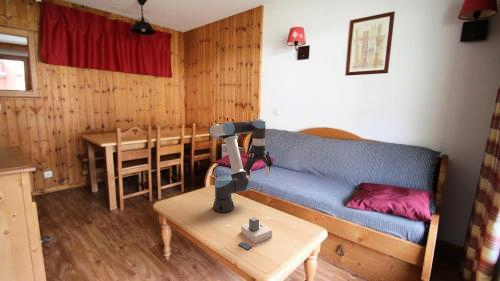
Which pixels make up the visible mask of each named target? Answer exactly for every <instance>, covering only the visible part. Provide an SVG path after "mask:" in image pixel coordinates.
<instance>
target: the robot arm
mask: <svg viewBox="0 0 500 281" xmlns="http://www.w3.org/2000/svg"><path fill="white" fill-rule="evenodd" d="M266 126H267V125H266V120H265V119H261V118H257V119H255V118H254V119H253V120H246V121H228V122H224V123H223V122H222V123H219V122H218V123H214V124H211V125H210V126H209V128H208V130H207V131H208V134H209V136H210V137H212V138H213V139H222V140H223V143H225V144H226V145H225V146H226V150H227V154H228V157H229V158H228V160H229V163H230V167H231V172H232V173H231V174H230V175H229V174H224V175H223V174H222V175H218V176H217V177H216V178H215V180H214V201H213V205H212V210H213V211H214V212H215V213H219V214H227V213H230V212H232V211H234V209H235V204H234V201H233V198H232V196H233V194H236V193H237V194H238V193H242V192H247V191H249V190H250V189H251V188H252V168H253V166H254V164H255V163H256V162H257V161H259V160H260V161H261V160H262V161H263V163H264V164H265V174H264V176H265V177H267V178H268V177H269V176H270V170H271V169H270V168H271V167H272V165H273V162H272V158H271V156H270V152H269V151H267V150H266V145H265V144H266V129H267V128H266ZM242 134H243V135H244V134H252V153H248V157H247V159H246V161H245V165H244V166H243V161H242V156H241V153H240V148H239V144H238V140H239V136H240V135H242Z"/></svg>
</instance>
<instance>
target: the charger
mask: <svg viewBox="0 0 500 281" xmlns="http://www.w3.org/2000/svg"><path fill="white" fill-rule="evenodd" d="M259 221H260V219H258V218H257V217H256V216H253V217H251V218H248V223H249V230H250V231H251V232H255V231H257V230H259Z"/></svg>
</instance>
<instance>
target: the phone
mask: <svg viewBox="0 0 500 281" xmlns="http://www.w3.org/2000/svg"><path fill="white" fill-rule="evenodd" d="M237 246H239V247H240V248H242V249H243V250H246V251H249V250H251V249H252V248H253V246H252V245H250V244H248V243H246V242H244V241H241V242H240V243H238V244H237Z"/></svg>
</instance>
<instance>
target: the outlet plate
mask: <svg viewBox="0 0 500 281" xmlns="http://www.w3.org/2000/svg"><path fill="white" fill-rule="evenodd" d="M240 231H241V233H242V234H243V235H245V236H246V237H247V239H249V240H250V241H252V243H254V244H257V243H260V242H262V241H264V240H267V239H269V238H271V237H273V229H271V228H270V227H268V226H267V225H266V224H265V223H263V222H261V221H260V220H259V230H257V231H255V232H251V231H250V230H249V222H247V223H245V224H241V225H240Z"/></svg>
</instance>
